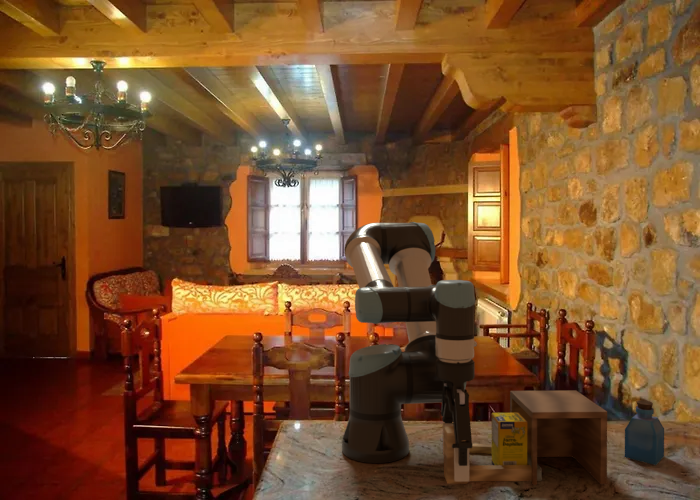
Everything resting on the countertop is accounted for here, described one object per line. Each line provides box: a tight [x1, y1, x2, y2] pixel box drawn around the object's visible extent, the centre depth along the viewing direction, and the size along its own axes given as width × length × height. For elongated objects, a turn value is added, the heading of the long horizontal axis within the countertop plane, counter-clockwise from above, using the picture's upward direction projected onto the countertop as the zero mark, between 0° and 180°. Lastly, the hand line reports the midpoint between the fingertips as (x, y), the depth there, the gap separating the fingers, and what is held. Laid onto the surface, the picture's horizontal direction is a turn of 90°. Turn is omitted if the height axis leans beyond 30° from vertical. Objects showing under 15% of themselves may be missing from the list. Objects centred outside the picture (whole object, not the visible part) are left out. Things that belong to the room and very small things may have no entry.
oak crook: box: [443, 426, 543, 485], centre depth 115 cm, size 19×12×10 cm, turn 90°
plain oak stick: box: [469, 442, 492, 455], centre depth 125 cm, size 12×2×2 cm, turn 81°
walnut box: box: [509, 389, 608, 486], centre depth 116 cm, size 14×15×14 cm
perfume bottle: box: [624, 399, 665, 466], centre depth 122 cm, size 6×6×12 cm
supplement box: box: [491, 412, 527, 465], centre depth 116 cm, size 6×6×11 cm
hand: (455, 467), depth 111 cm, fingers open, 12 cm apart
